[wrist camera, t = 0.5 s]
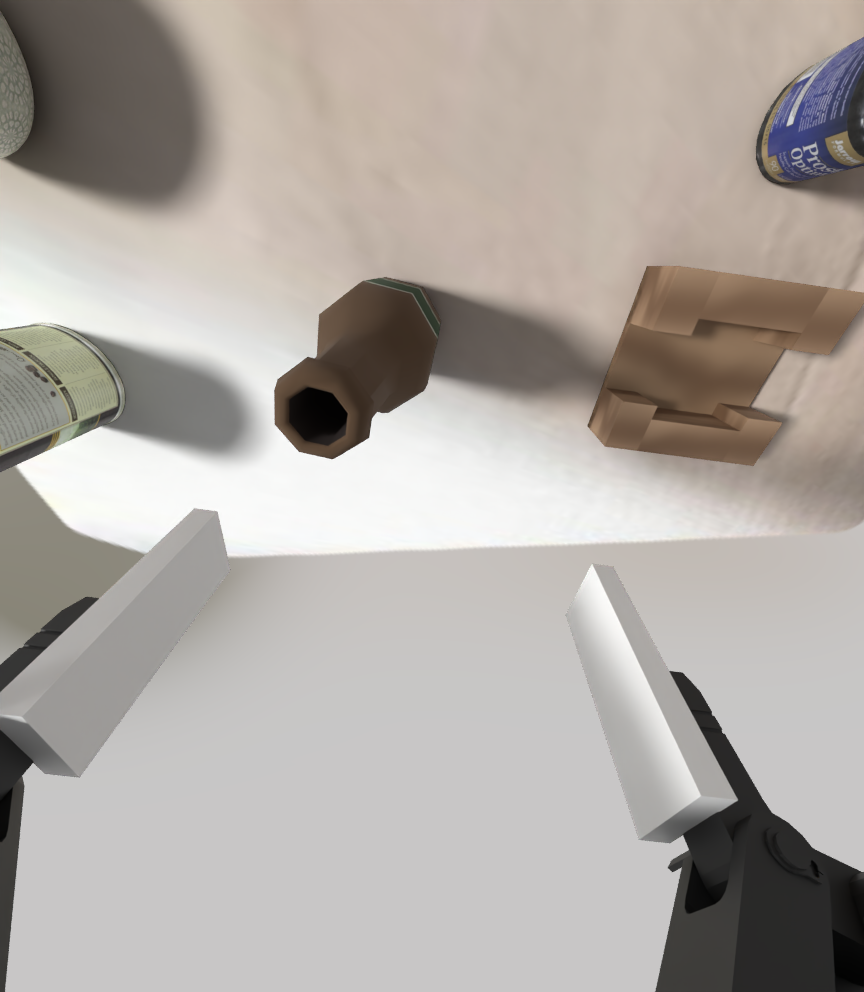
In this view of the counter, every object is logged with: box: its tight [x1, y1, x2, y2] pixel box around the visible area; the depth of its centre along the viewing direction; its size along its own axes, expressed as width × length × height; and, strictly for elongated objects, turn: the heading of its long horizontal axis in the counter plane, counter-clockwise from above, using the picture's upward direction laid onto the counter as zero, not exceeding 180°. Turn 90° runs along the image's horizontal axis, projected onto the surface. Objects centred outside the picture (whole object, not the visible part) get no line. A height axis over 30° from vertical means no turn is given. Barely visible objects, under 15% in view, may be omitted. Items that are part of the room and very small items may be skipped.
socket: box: [588, 266, 864, 466], centre depth 32 cm, size 14×14×5 cm
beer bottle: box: [274, 277, 441, 459], centre depth 23 cm, size 8×8×24 cm
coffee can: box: [0, 323, 125, 472], centre depth 31 cm, size 10×10×14 cm
